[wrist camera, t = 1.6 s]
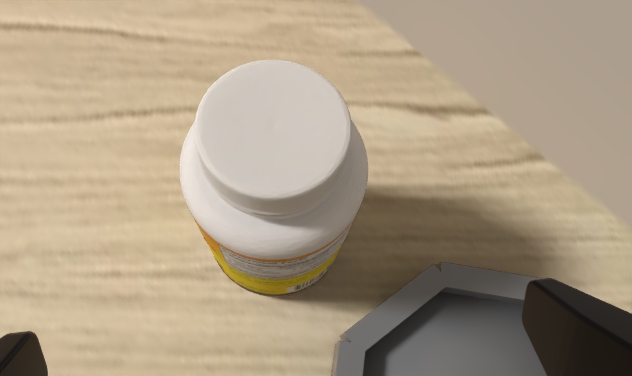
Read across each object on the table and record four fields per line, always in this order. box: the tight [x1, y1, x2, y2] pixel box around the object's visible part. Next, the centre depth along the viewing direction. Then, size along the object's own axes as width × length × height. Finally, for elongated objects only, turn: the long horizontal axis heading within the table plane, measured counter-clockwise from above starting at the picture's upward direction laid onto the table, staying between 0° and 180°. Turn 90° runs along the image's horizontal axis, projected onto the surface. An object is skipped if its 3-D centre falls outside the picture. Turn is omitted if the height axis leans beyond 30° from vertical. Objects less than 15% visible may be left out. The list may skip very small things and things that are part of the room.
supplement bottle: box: [179, 60, 368, 297], centre depth 17 cm, size 6×6×10 cm
